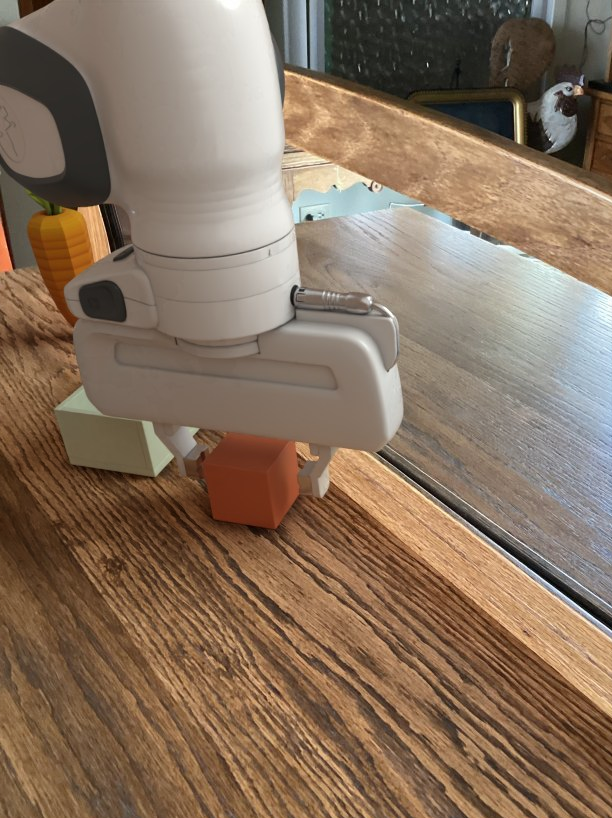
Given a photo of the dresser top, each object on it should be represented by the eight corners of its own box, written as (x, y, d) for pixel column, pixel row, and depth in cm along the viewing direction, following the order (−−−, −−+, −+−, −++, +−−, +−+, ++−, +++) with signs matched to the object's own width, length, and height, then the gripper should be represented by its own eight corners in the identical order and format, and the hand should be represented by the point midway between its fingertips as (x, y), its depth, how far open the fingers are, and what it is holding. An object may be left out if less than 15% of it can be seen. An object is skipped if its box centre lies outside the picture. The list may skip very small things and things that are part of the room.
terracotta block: (213, 519, 59) (201, 462, 56) (242, 482, 62) (232, 426, 59) (275, 530, 58) (266, 472, 55) (301, 491, 61) (294, 435, 58)
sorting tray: (70, 464, 65) (53, 409, 62) (161, 378, 75) (150, 327, 72) (155, 477, 63) (141, 421, 60) (237, 388, 73) (229, 336, 70)
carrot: (121, 339, 81) (79, 168, 72) (66, 353, 79) (16, 179, 70) (104, 320, 85) (62, 154, 75) (52, 334, 83) (2, 165, 74)
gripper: (414, 274, 50) (419, 478, 59) (97, 248, 55) (144, 438, 64) (379, 320, 45) (390, 535, 54) (37, 287, 51) (96, 487, 59)
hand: (254, 482), depth 59 cm, fingers open, 7 cm apart
